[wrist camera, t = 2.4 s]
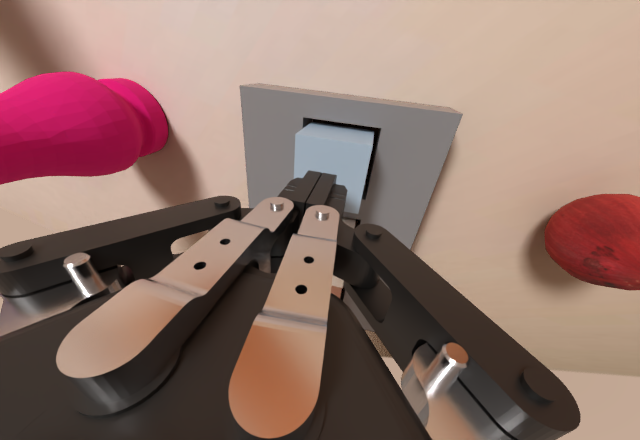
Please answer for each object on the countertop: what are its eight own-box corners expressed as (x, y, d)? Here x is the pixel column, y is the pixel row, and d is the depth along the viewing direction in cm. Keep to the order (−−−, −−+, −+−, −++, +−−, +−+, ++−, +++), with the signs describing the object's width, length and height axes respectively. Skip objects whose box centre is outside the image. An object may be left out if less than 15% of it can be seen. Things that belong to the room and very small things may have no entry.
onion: (552, 253, 20) (635, 342, 14) (507, 213, 19) (573, 287, 13) (639, 209, 17) (801, 295, 11) (591, 159, 16) (735, 219, 10)
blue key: (374, 130, 16) (372, 145, 13) (362, 189, 19) (358, 214, 15) (312, 121, 17) (295, 133, 14) (307, 179, 19) (292, 201, 16)
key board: (450, 107, 16) (462, 114, 14) (378, 309, 28) (378, 332, 26) (259, 83, 18) (240, 85, 16) (266, 283, 30) (256, 302, 28)
